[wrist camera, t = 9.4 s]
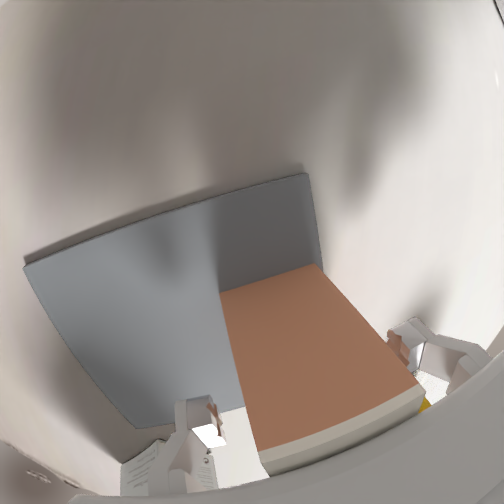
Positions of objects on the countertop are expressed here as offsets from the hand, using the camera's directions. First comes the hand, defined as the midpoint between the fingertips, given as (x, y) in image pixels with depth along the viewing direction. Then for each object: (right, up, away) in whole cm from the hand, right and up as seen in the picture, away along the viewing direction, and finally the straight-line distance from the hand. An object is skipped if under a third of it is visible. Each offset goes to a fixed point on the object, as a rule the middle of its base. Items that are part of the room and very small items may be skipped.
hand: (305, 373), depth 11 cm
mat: (-5, 0, +4) cm, 7 cm away
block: (-1, +2, +4) cm, 5 cm away
